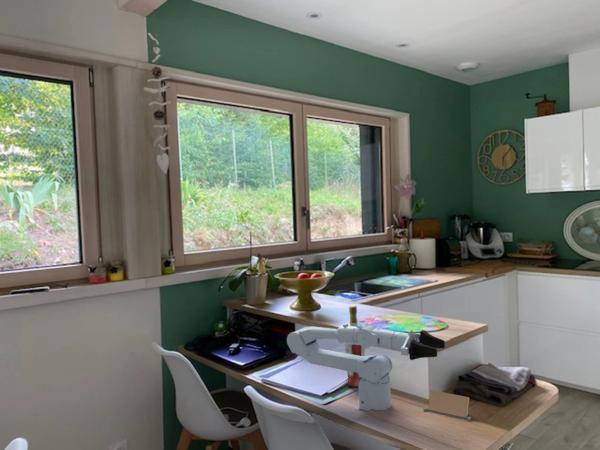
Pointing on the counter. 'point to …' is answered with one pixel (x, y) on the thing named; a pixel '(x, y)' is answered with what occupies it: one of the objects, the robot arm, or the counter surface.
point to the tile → (448, 404)
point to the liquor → (354, 349)
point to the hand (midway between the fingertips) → (440, 348)
